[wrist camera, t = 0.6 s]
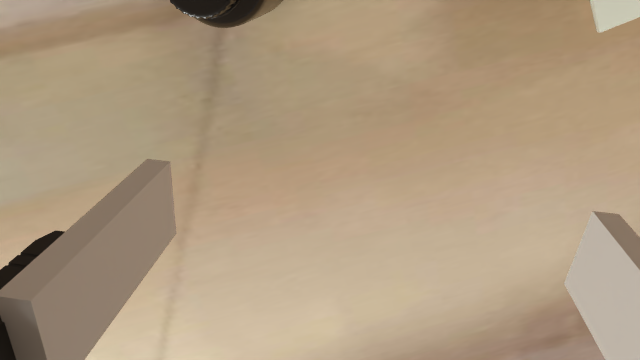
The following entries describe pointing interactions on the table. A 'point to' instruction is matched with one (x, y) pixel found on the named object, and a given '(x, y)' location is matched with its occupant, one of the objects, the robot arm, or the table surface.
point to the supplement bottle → (225, 10)
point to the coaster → (614, 12)
